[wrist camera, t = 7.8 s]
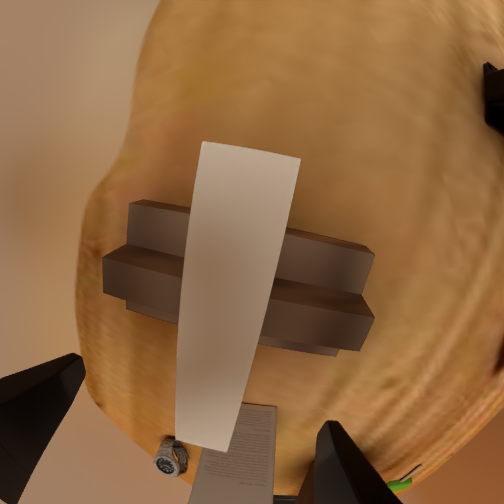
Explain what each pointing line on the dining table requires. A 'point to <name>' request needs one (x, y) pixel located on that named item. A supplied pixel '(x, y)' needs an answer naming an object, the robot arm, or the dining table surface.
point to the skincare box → (240, 462)
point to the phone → (284, 499)
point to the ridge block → (283, 289)
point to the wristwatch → (171, 458)
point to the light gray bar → (227, 283)
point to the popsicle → (402, 482)
